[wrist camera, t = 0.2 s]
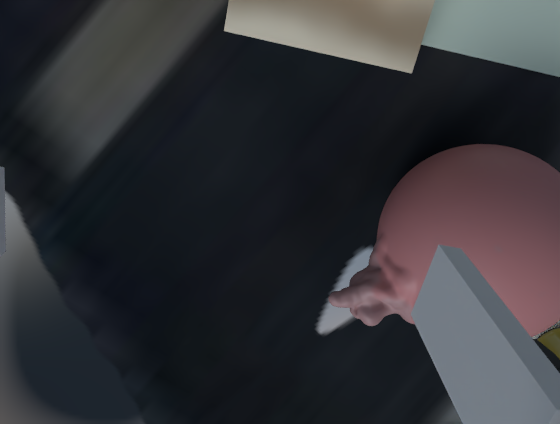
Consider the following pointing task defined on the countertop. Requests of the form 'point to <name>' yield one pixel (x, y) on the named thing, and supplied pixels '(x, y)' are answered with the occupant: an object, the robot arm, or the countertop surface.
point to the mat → (499, 31)
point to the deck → (338, 27)
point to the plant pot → (552, 341)
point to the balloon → (467, 234)
